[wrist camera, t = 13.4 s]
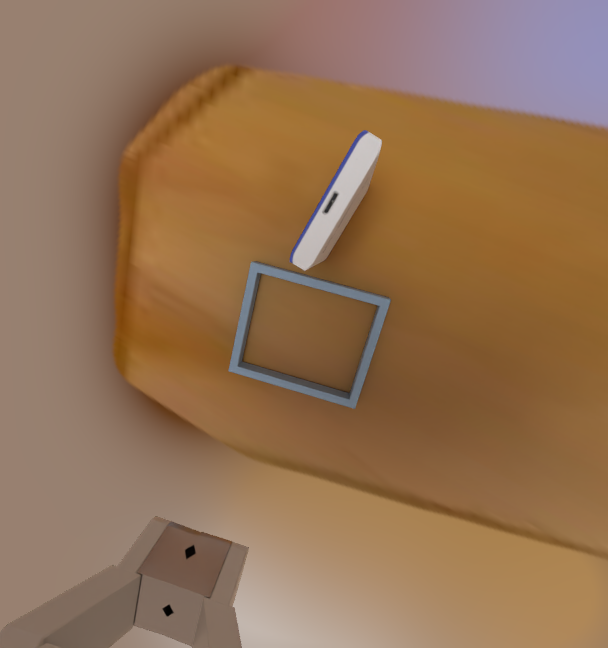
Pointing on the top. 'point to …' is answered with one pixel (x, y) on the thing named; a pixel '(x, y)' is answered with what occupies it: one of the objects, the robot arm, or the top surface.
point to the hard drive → (338, 202)
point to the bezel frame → (291, 381)
